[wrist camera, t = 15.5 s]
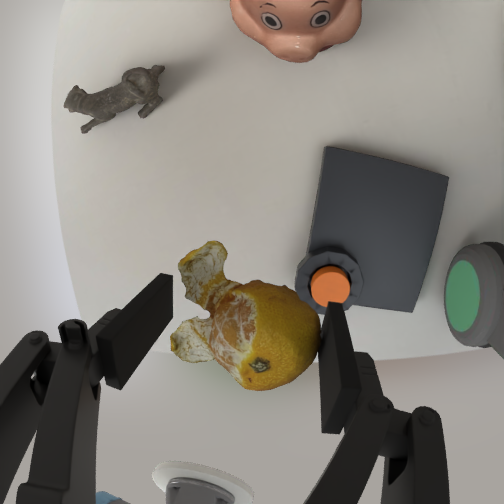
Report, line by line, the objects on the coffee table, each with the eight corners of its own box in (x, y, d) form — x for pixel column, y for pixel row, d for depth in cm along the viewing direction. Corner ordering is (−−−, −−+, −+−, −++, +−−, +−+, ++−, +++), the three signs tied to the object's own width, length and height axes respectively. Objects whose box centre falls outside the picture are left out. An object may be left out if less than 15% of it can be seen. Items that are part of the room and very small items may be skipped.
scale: (405, 310, 31) (414, 326, 28) (290, 293, 32) (290, 309, 29) (441, 175, 26) (456, 178, 23) (316, 145, 27) (319, 143, 24)
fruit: (184, 230, 15) (152, 252, 12) (342, 269, 15) (353, 303, 11) (171, 353, 18) (148, 390, 15) (297, 386, 18) (294, 430, 14)
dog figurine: (173, 60, 26) (141, 39, 19) (179, 109, 28) (145, 98, 21) (85, 93, 28) (44, 86, 21) (89, 136, 30) (47, 137, 23)
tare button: (342, 302, 29) (344, 310, 27) (307, 297, 29) (307, 304, 27) (351, 269, 27) (354, 275, 26) (314, 262, 28) (315, 268, 26)
